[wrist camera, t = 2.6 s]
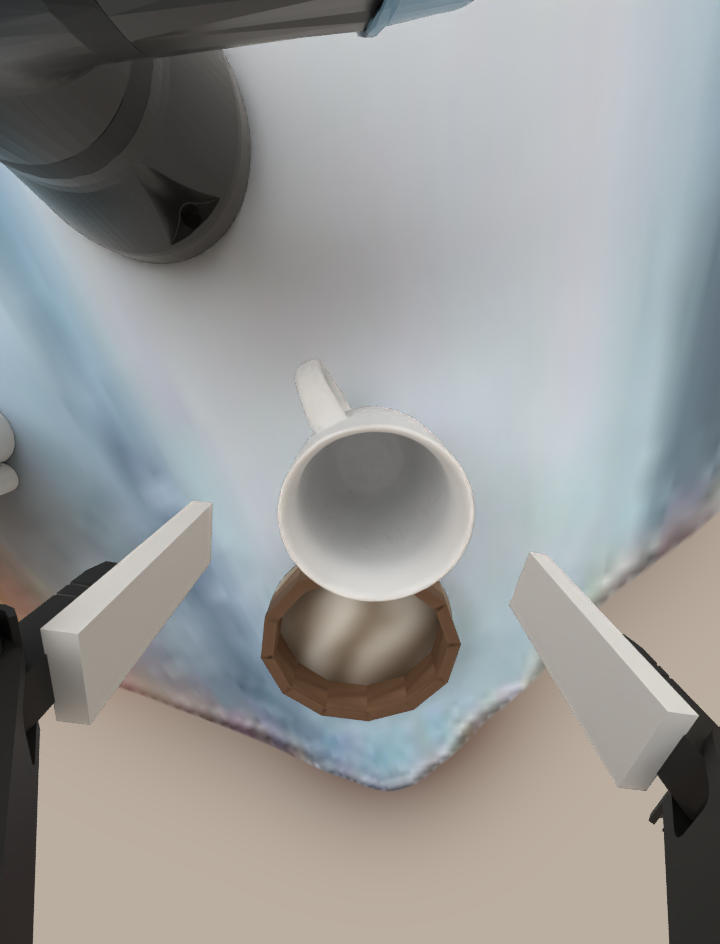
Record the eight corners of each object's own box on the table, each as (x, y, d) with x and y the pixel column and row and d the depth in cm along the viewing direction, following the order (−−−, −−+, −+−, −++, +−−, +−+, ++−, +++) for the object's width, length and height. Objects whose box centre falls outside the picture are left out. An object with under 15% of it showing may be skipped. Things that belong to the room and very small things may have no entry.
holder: (263, 677, 40) (253, 708, 36) (277, 530, 33) (267, 551, 30) (426, 698, 41) (433, 731, 37) (472, 559, 34) (485, 583, 31)
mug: (262, 393, 29) (188, 422, 16) (374, 326, 27) (385, 302, 15) (347, 528, 33) (339, 630, 21) (449, 477, 31) (507, 556, 19)
